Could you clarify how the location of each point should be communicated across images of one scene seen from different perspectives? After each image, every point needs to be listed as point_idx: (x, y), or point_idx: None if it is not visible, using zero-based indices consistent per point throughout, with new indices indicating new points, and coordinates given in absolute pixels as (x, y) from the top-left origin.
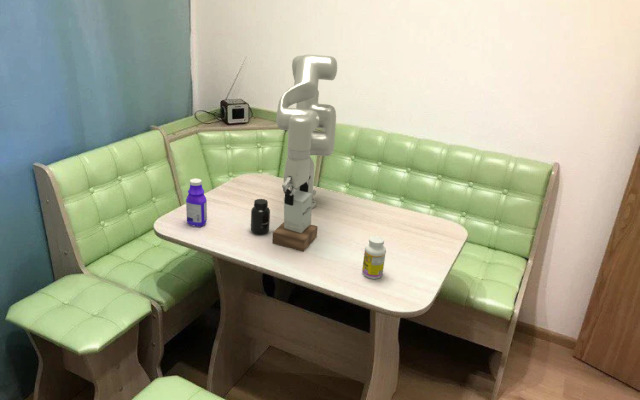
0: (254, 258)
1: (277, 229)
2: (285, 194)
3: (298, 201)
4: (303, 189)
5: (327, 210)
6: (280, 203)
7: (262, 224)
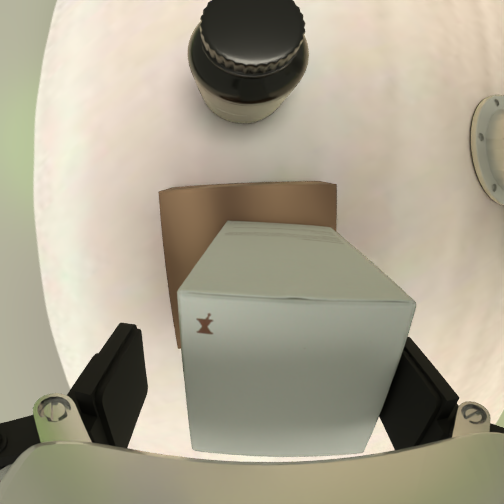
0: (52, 194)
1: (197, 196)
2: (83, 385)
3: (189, 426)
4: (399, 404)
5: (499, 252)
6: (480, 80)
7: (207, 101)
